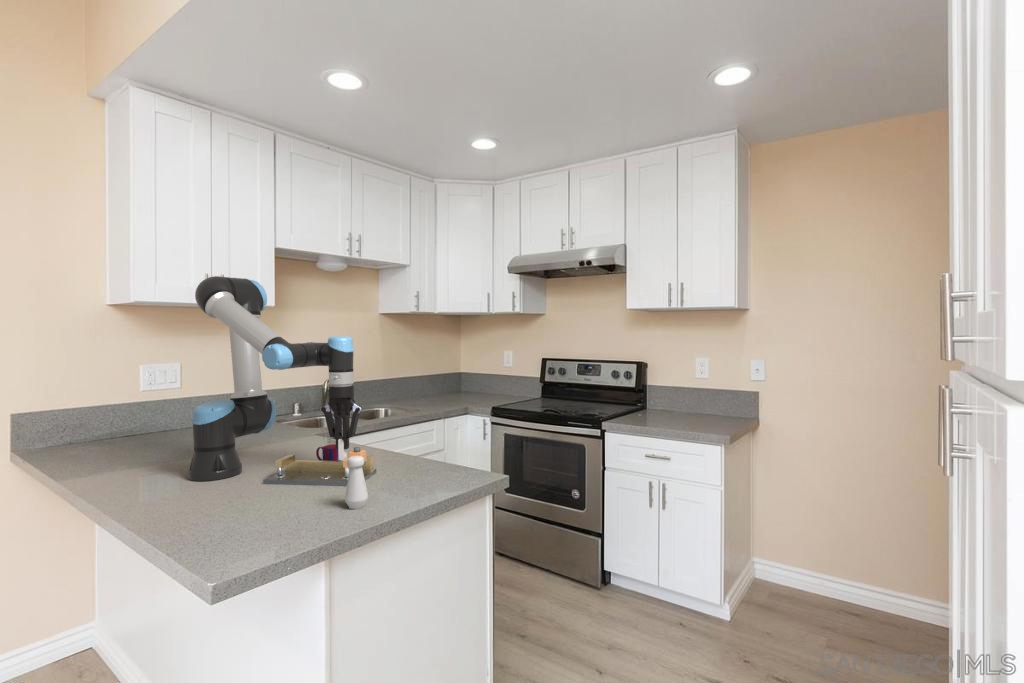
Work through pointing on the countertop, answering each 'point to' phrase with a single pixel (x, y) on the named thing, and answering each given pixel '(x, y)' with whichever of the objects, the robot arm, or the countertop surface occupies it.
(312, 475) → the plate
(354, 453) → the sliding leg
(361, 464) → the salt shaker
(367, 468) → the brass l-shaped beam
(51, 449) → the countertop surface
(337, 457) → the mug
